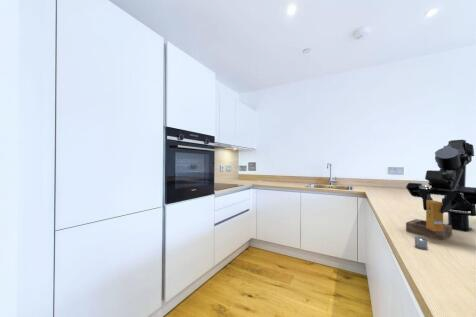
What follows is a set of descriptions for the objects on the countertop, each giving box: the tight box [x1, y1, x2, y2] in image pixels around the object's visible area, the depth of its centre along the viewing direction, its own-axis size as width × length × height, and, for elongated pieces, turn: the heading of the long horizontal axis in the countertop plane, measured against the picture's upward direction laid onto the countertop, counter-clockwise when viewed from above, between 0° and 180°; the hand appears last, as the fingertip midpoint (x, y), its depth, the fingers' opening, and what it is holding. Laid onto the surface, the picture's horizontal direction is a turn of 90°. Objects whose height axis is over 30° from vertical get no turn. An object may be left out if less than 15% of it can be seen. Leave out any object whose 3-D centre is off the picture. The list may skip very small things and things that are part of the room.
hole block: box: [405, 218, 453, 241], centre depth 76 cm, size 10×10×4 cm
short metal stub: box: [414, 236, 429, 251], centre depth 62 cm, size 3×3×3 cm
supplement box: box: [425, 199, 444, 232], centre depth 67 cm, size 3×3×10 cm
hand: (432, 211), depth 66 cm, fingers closed on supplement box, 4 cm apart
